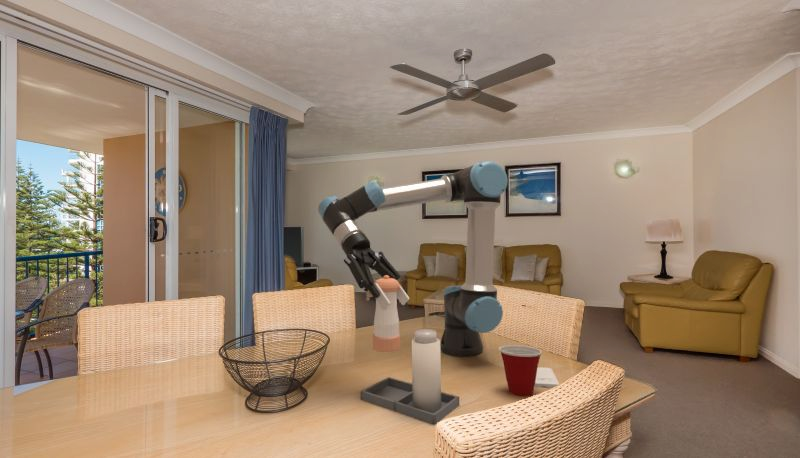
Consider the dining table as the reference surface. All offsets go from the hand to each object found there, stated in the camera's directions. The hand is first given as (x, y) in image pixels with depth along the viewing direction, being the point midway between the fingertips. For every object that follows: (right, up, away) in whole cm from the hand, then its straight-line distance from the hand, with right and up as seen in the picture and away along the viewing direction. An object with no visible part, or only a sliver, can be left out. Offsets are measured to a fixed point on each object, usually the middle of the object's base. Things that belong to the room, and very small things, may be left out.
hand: (396, 304), depth 98 cm
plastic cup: (+32, -24, +1) cm, 40 cm away
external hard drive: (+41, -24, +11) cm, 49 cm away
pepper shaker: (-3, -12, +2) cm, 13 cm away
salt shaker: (+7, -23, -8) cm, 25 cm away
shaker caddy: (+3, -24, -4) cm, 25 cm away
